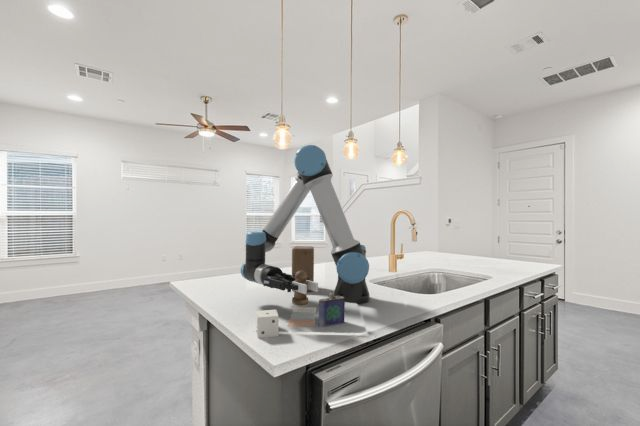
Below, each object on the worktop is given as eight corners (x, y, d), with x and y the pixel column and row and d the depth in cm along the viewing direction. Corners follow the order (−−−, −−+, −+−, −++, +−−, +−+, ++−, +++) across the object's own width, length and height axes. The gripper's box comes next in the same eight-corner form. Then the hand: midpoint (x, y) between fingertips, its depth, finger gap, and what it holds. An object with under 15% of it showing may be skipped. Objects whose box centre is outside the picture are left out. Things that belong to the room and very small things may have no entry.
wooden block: (313, 291, 139) (313, 248, 139) (291, 291, 139) (291, 248, 139) (313, 286, 149) (313, 246, 149) (293, 286, 149) (293, 246, 149)
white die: (276, 328, 94) (276, 309, 94) (278, 336, 88) (278, 315, 88) (256, 330, 92) (256, 310, 92) (257, 338, 87) (257, 317, 87)
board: (317, 309, 113) (317, 307, 113) (315, 329, 93) (315, 326, 93) (293, 308, 113) (293, 306, 113) (286, 328, 94) (286, 326, 94)
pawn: (308, 300, 100) (308, 269, 100) (308, 305, 94) (309, 272, 94) (292, 300, 99) (293, 268, 99) (291, 305, 94) (292, 272, 94)
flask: (320, 330, 93) (320, 295, 93) (316, 326, 95) (316, 293, 96) (346, 325, 97) (346, 292, 97) (341, 322, 100) (341, 290, 100)
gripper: (287, 282, 116) (330, 295, 99) (248, 289, 104) (289, 305, 87) (287, 263, 116) (331, 273, 99) (248, 268, 104) (290, 280, 87)
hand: (311, 288), depth 93 cm, fingers closed on pawn, 4 cm apart
